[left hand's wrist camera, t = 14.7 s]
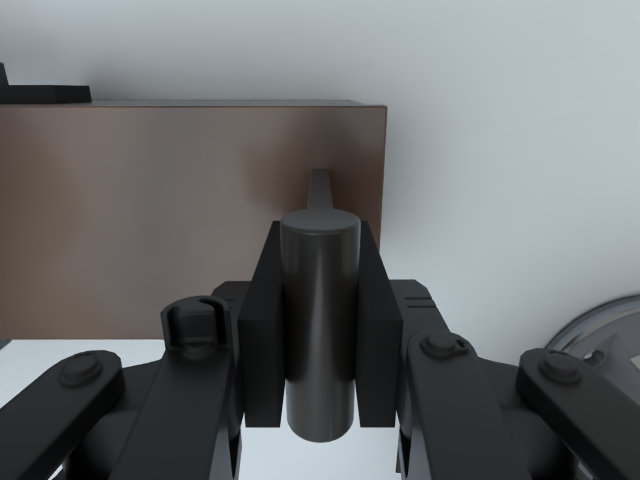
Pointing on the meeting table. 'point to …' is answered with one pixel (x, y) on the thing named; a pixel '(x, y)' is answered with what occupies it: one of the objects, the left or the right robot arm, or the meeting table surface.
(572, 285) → the meeting table surface
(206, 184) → the lid
